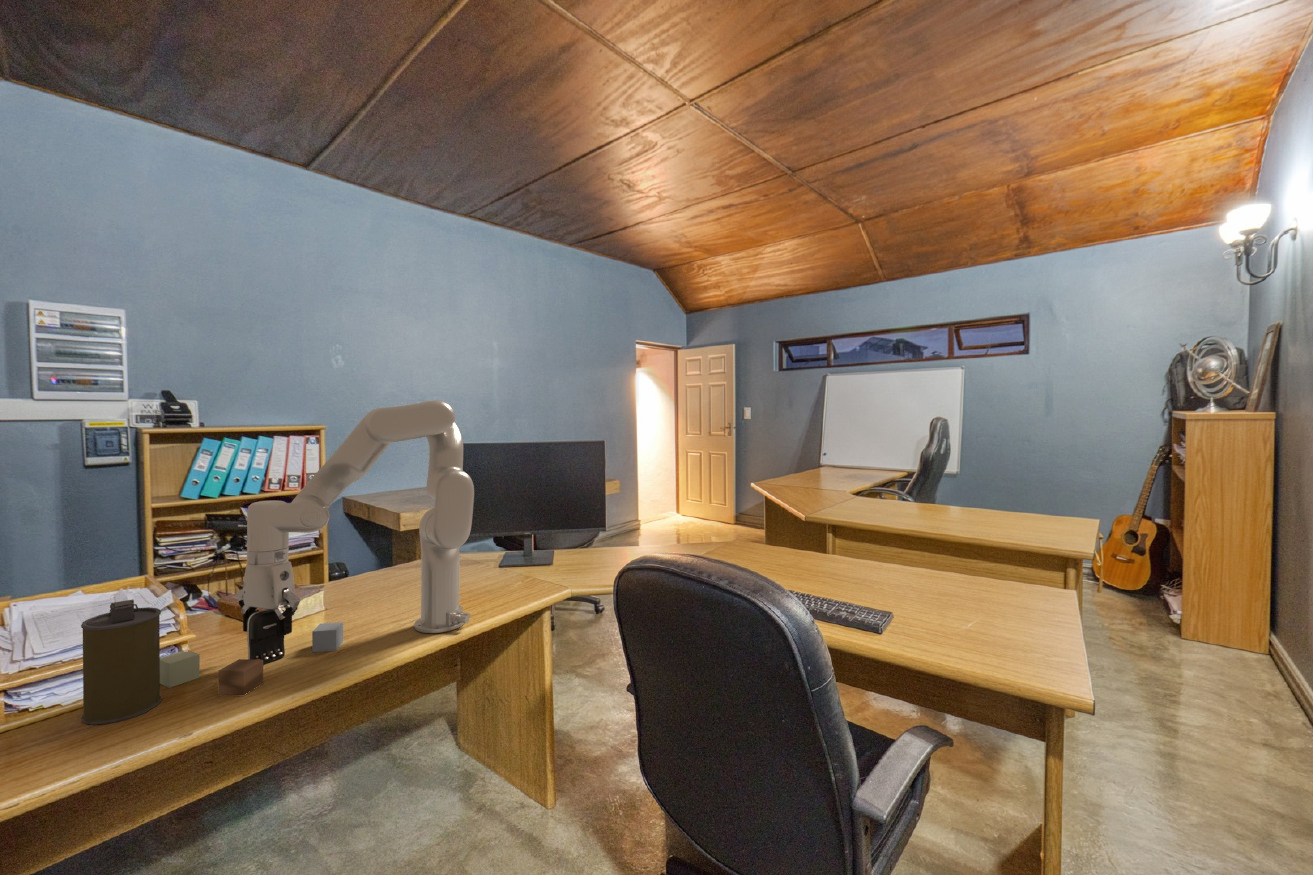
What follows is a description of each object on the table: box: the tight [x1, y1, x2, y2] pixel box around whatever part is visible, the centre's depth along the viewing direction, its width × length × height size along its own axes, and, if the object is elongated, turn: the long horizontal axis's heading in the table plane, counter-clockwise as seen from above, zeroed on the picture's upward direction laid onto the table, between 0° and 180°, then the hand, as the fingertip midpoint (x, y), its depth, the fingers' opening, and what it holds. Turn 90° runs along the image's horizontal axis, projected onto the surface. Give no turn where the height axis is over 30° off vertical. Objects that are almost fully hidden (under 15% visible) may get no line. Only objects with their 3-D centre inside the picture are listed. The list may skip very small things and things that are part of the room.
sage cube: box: [160, 649, 201, 689], centre depth 110 cm, size 5×5×5 cm
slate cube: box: [311, 621, 344, 653], centre depth 127 cm, size 5×5×5 cm
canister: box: [80, 598, 162, 726], centre depth 98 cm, size 11×10×20 cm
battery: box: [246, 609, 286, 665], centre depth 119 cm, size 7×4×11 cm, turn 149°
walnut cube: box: [218, 658, 264, 696], centre depth 106 cm, size 5×5×5 cm
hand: (267, 632), depth 119 cm, fingers open, 9 cm apart
